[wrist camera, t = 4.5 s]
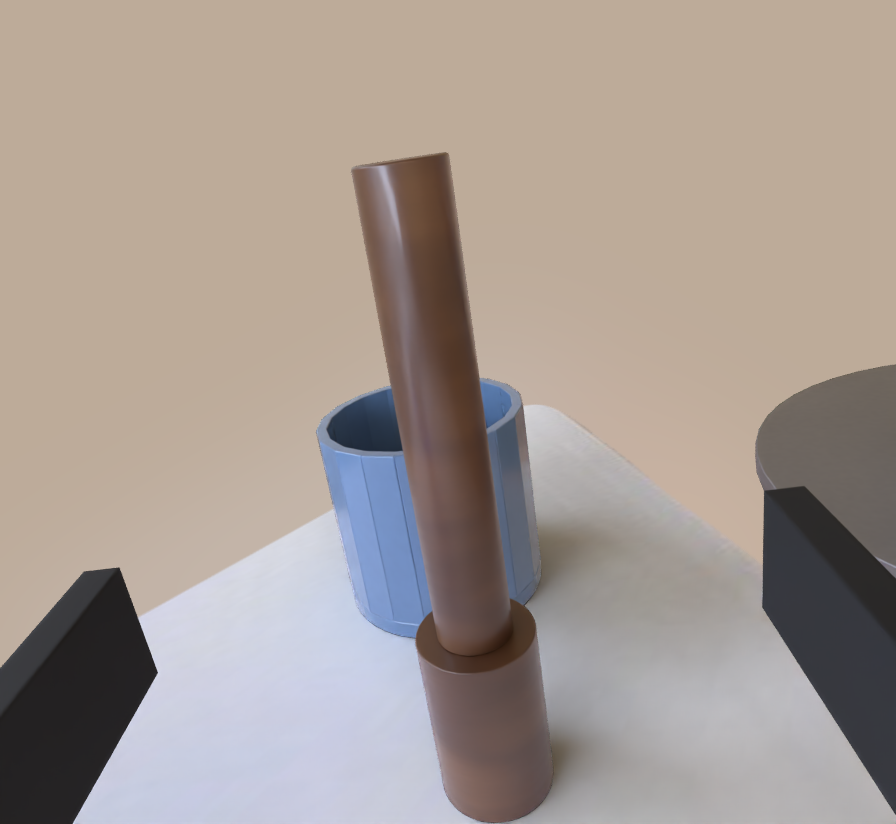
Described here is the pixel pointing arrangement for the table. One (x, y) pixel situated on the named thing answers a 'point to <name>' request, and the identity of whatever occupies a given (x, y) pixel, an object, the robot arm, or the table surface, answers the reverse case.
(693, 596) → the table surface
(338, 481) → the blue faceted pencil cup
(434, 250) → the muddler
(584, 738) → the table surface
